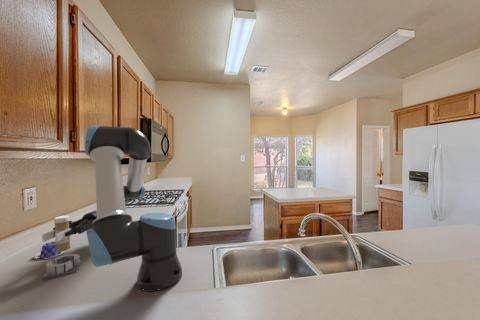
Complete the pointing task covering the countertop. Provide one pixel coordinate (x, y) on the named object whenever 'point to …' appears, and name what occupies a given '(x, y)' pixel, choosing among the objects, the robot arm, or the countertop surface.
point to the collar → (63, 266)
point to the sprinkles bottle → (60, 226)
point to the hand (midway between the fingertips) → (49, 238)
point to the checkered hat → (49, 250)
